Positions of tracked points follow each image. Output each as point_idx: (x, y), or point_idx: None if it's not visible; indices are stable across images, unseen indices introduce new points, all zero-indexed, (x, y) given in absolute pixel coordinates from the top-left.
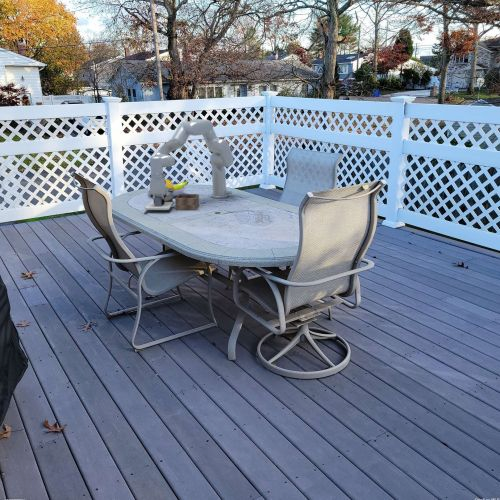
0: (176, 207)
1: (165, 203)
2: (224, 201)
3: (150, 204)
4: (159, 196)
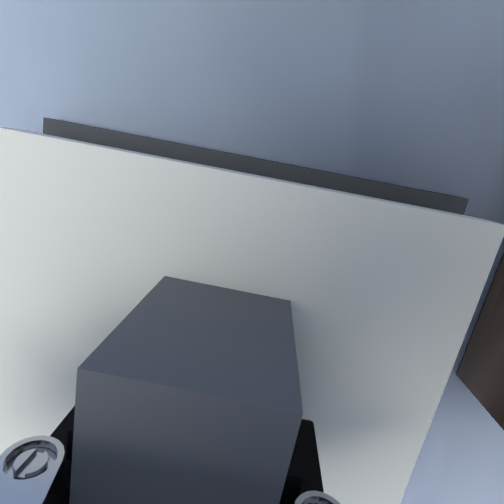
0: (496, 410)
1: (325, 315)
2: None
3: (39, 338)
4: (175, 478)
